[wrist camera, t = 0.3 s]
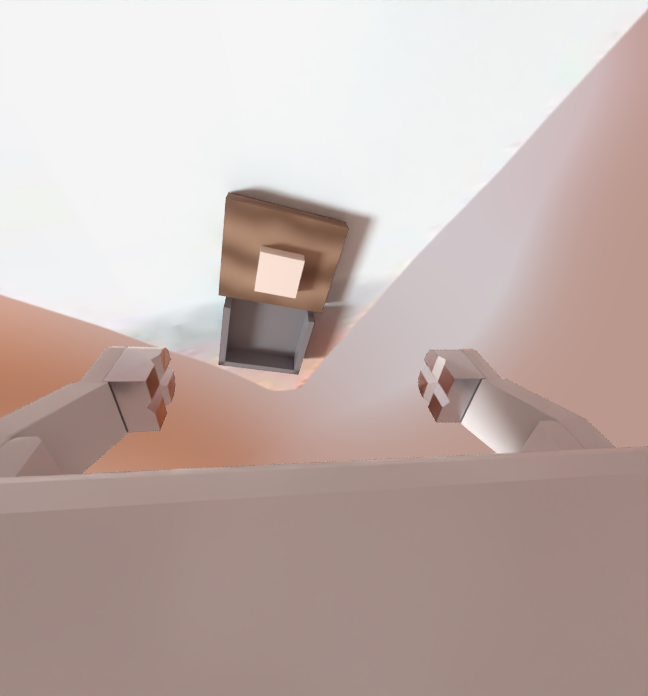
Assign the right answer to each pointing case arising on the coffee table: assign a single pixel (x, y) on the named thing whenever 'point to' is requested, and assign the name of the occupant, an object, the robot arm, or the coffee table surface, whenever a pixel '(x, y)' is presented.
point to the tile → (279, 272)
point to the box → (264, 336)
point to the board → (284, 234)
